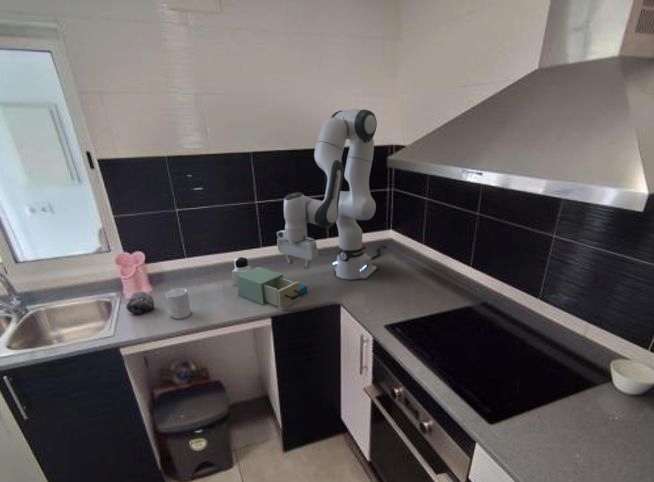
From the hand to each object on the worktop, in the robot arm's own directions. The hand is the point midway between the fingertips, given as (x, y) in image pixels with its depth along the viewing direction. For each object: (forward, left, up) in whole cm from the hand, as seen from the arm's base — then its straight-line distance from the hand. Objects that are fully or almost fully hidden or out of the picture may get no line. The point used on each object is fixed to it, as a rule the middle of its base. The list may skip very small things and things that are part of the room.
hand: (298, 266), depth 162 cm
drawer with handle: (+11, 0, -12) cm, 16 cm away
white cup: (+43, -25, -13) cm, 51 cm away
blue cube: (0, 0, -13) cm, 13 cm away
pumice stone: (+51, -42, -13) cm, 67 cm away
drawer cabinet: (+11, -13, -13) cm, 21 cm away
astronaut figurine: (+7, -30, -13) cm, 34 cm away
